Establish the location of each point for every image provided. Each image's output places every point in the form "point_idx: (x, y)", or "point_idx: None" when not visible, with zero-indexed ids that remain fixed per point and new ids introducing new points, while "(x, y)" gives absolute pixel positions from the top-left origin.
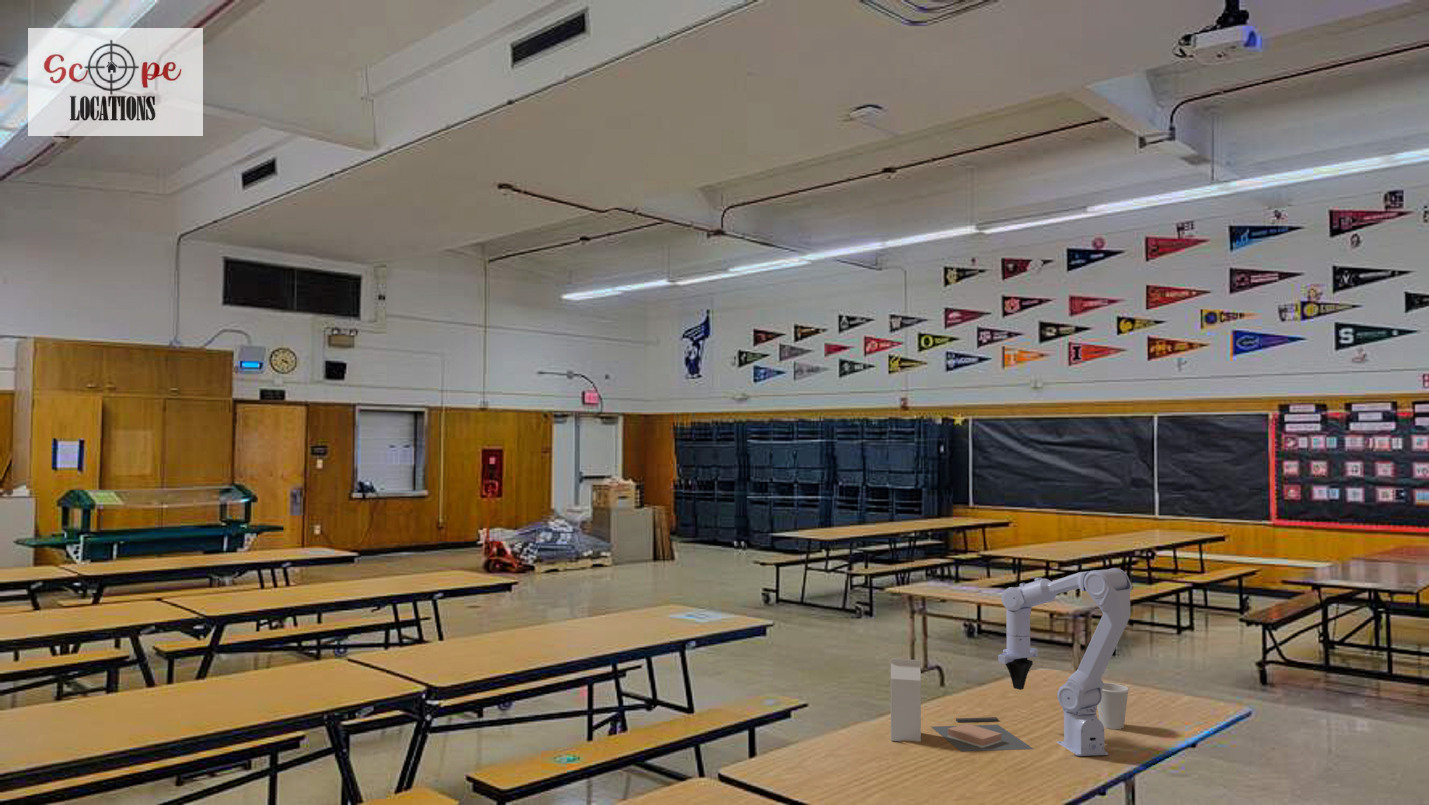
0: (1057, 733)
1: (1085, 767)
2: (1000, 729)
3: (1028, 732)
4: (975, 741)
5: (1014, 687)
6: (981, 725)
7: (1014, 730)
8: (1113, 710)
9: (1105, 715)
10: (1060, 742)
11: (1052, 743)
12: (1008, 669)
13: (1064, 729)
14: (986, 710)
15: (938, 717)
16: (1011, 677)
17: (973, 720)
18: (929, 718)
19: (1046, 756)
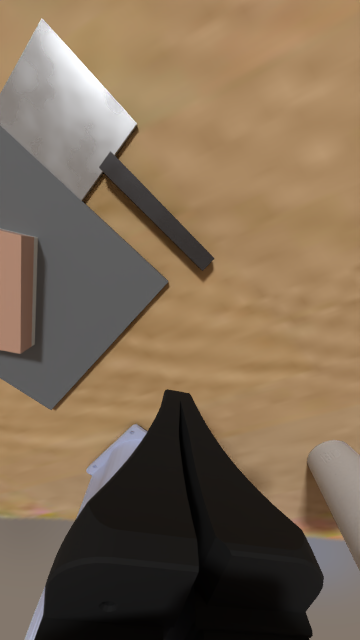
0: (211, 401)
1: (46, 487)
2: (129, 305)
3: (175, 355)
4: None
5: (163, 396)
6: (125, 248)
7: (167, 325)
8: (330, 509)
9: (323, 481)
10: (134, 433)
11: (134, 415)
12: (123, 466)
13: (111, 476)
14: (317, 182)
15: (129, 64)
16: (152, 424)
17: (142, 210)
18: (92, 35)
19: (45, 431)
